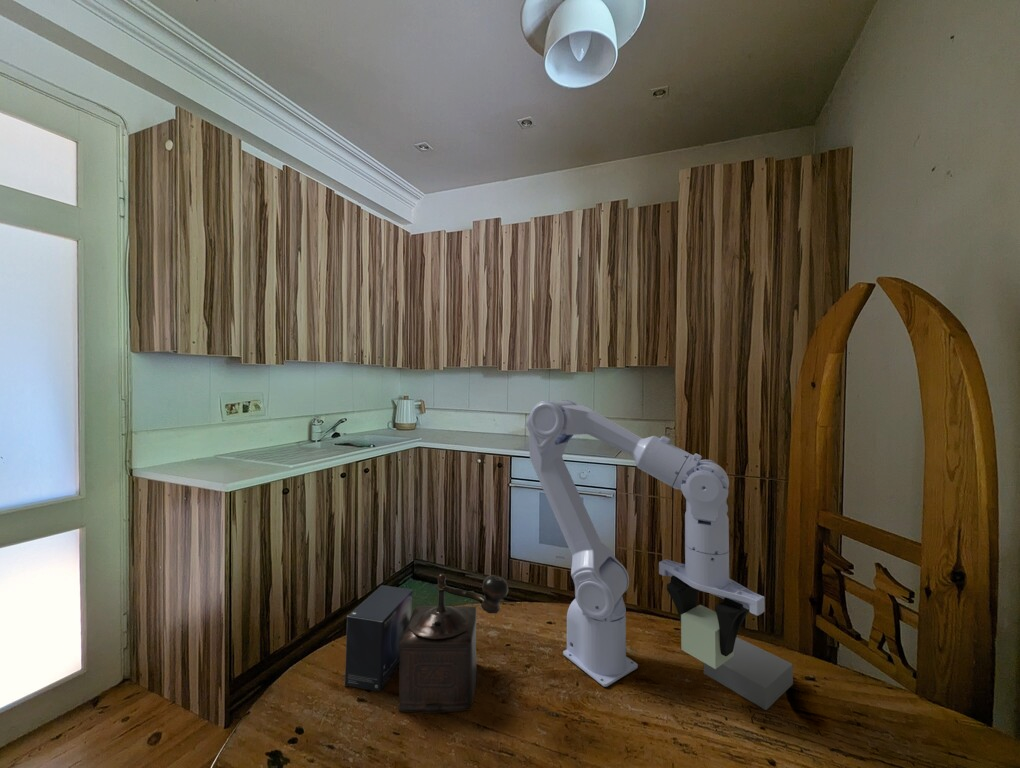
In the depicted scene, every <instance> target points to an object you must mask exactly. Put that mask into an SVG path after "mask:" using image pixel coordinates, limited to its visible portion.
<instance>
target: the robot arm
mask: <svg viewBox="0 0 1020 768" xmlns="http://www.w3.org/2000/svg"><path fill="white" fill-rule="evenodd" d="M525 426H526V427H527V430H528V432H529V459H530V463H531V465H532V466H533V469H534V471H535V474H536V476H537V479H538V480H539V483H540V485H541V488H542V490H543V492H544V494H545V496H546V499H547V501H548V503H549V506H550V508H551V510H552V512H553V514H554V517H555V520H556V522H557V524H558V526H559V529H560V532H561V533H562V535H563V538H564V540H565V543H566V544H567V547H568V550H569V551H570V554H571V556H572V560H571V569H570V576H571V578H572V580H573V584H574V595H575V596H574V597H575V598H574V599H573V600H572V601H571V603H570V604H569V606H568V609H567V613H566V649H564V650H563V651H562V655H563V656H564V657H566V658H567V659H568V660H569V661H570V662H572V663H573V664H574V665H576V666H577V667H578V668H579V669H580V670H582V671H584V673H586V674H587V675H588V676H589V677H591V678H592V679H593V680H595V681H596V682H597V683H598V684H600V685H601V686H602V687H604V688H605V687H606V688H607V687H609V686H610V685H612V684H613V683H615V682H617V681H618V680H621V678H623V677H625V676H627V675H628V674H630V673H632V672H633V671H636V670H637V669H638V667H639V664H638V663H637V662H635V661H634V660H632V659H631V658H629V657H627V651H626V650H627V642H626V641H627V640H626V639H627V635H626V634H627V629H626V627H627V625H626V624H627V623H626V622H627V620H626V618H627V613H626V611H627V609H626V604H625V602H624V598H623V594H625V593H626V591H627V590H628V588H629V585H630V578H629V574H628V570H627V568H625V566H624V565H623V564H622V563H621V562H620V561H619V560H618V559H617V558H616V556H615V555H614V553H613V551H612V549H611V548H610V547H608V546H607V545H606V544H604V543H603V542H602V541H601V538H600V536H599V534H598V532H597V530H596V528H595V526H594V524H593V522H592V521H593V520H592V518H591V517H590V515H589V513H588V511H587V508H586V506H585V504H584V502H583V500H582V497H581V496H580V493H579V491H578V489H577V486H576V484H575V482H574V480H573V478H572V476H571V472H570V471H569V470H568V469H569V468H568V467H567V464H566V462H565V460H564V458H563V456H564V453H565V451H566V447H567V445H568V443H569V441H570V440H571V438H572V437H573V436H574V435H576V436H577V435H589V436H591V437H593V438H595V439H597V440H599V441H601V442H603V443H605V444H607V445H609V446H611V447H612V448H615V449H617V450H619V451H621V452H623V453H624V454H627V455H629V456H632V458H633V460H634V462H635V465H636V468H637V469H639V470H641V471H642V472H644V473H646V474H647V475H650V476H651V477H652V478H655V479H657V480H659V481H661V482H662V483H664V484H666V485H667V486H670V487H671V488H673V489H675V490H679V491H681V493H682V495H683V497H684V498H685V513H684V559H685V560H684V563H682V562H681V563H680V562H676V561H674V560H670V559H663V560H661V561H658V575H661V576H662V577H667V576H668V577H670V578H671V580H670V582H668V583H667V584H666V591H667V593H668V594H669V596H670V598H671V600H672V601H673V604H674V606H675V609H676V612H677V615H678V618H679V621H680V623H681V615H682V614H684V613H685V612H687V611H689V610H691V609H693V608H695V607H697V599H698V593H699V591H700V592H704V593H709V594H711V595H713V596H715V597H719V598H721V599H723V601H722V602H720V603H718V604H716V605H714V611H715V612H716V614H717V618H718V623H719V630H720V651H721V654H722V655H724V656H728V655H729V654H731V653H732V652H733V649H734V644H735V640H736V637H738V634H739V631H740V628H741V626H742V624H743V622H744V621H745V619H746V617H747V615H748V613H750V614H752V615H755V616H757V617H759V616H760V615H762V614H763V613H765V612H766V610H765V609H766V607H765V606H766V605H765V604H766V602H765V595H761V594H759V593H756V592H755V591H753V590H751V589H748V587H746V586H743V585H742V584H740V583H739V582H737V581H735V580H733V579H731V578H730V532H729V531H730V519H729V516H728V512H729V507H728V503H727V499H728V497H729V492H730V491H729V487H730V479H729V476H728V474H727V472H726V471H725V469H724V468H723V467H722V466H720V465H719V464H718V463H717V462H715V461H714V460H711V459H702V458H703V457H702V455H700V453H699V454H698V453H694V454H691V453H689V452H688V451H686V450H684V449H682V448H680V447H677V446H676V445H673V444H672V443H671V441H672V439H671V438H669V437H667V436H665V435H662V436H661V437H659V436H656V435H652V436H649V437H645V438H642V437H640V436H639V435H638V434H636V433H634V432H632V431H631V430H628V429H627V428H626V427H623V426H622V425H619V424H618V423H616V422H614V421H612V420H611V419H609V418H607V417H605V416H603V415H602V414H600V413H598V412H597V411H595V410H593V409H591V408H590V407H587V406H586V405H582V404H577V403H576V402H575V401H573V400H569V399H566V400H565V399H564V400H563V399H562V400H557V401H556V400H552V401H551V400H543V401H539V402H538V403H536V404H535V405H534V406H533V407H532V409H531V412H529V416H528V418H527V420H526V423H525Z"/></svg>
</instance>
